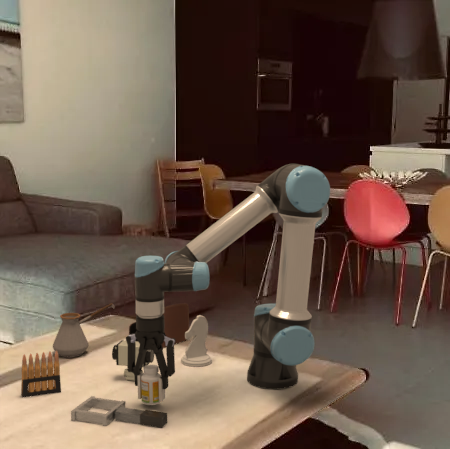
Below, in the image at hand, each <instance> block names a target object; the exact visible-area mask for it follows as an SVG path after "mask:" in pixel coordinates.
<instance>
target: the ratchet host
mask: <svg viewBox="0 0 450 449" xmlns="http://www.w3.org/2000/svg"><path fill="white" fill-rule="evenodd" d="M92 408H94V409H100V410H107V411H108V412H105V413H103V412H97V411H90V410H91V409H92ZM70 421H74V422H76V421H77V422H85V423H89V424H90V423H91V424H97V425H102V426H104V427H107V426H109V424H111V423H112V422H113V421H117V422H122V423H129V424H135V425H141V426H146V427H147V426H148V427H154V428H160V429H162V428H163V427H165V425H167V424H168V412H166V411H164V412H163V411H157V410H152V409H151V410H150V409H145V410H144V409H137V408H136V409H135V408H130V407H126V400H116V399H110V398H109V399H108V398H101V397H96V396H95V395H94V396H93V395H91V396H89V397H88V398H87V399H86V400H84V401H83V402H81V403H80V404H79V405H78V406H76V407H75V408H73V409H72V410H70Z"/></svg>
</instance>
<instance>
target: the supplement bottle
mask: <svg viewBox="0 0 450 449" xmlns="http://www.w3.org/2000/svg"><path fill="white" fill-rule="evenodd" d="M143 373H144V374H143V375H142V376H141V392H142V399H141V402H142V404H144V405H147V406H153V405H158V404H161V402H159V377H161V374H160V370H159V367H158V364H148V365H146V366H144V367H143Z"/></svg>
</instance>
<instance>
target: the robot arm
mask: <svg viewBox="0 0 450 449" xmlns="http://www.w3.org/2000/svg"><path fill="white" fill-rule="evenodd" d="M330 196H331V185H330V182H329V180H328V178H327V177H326V175H325V174H324V172H322V171H321V170H319V169H318V168H315V167H313V166H309V165H304V164H299V163H289V164H285V165H283V166H281V167H279V168H278V169H276V170H275V171H274V172H273V173H271V174H270V175H269V176H267V177H266V178H265V179H264V180H262V181H261V182H260V183H259V184H258V185H256V187H255V191H254V192H253V193H252V194H250V195H249V196H248V197H247V198H245V199H244V200H243V201H241V202H240V203H239V204H237V205H236V206H234V208H231V210H230V211H229V212H227V213H226V214H225V215H223V216H222V217H221V218H220V219H218V220H216V222H214V223H213V224H211V225H210V226H209V227H208V228H207V229H205V230H204V231H203V232H201V233H199V234H198V235H197V236H196V237H195V238H193V239H192V240H191V241H189V243H187V244H186V245H185V246H183V247H182V248H180V249H179V250H175V251H172V252H170V253H169V254H168V255H166V257H165V259H164V258H163V257H162V256H160V255H143V256H142V255H141V256H139V257H137V258H136V260H135V263H134V290H135V292H134V293H135V314H136V316H135V322H136V329H137V331H136V333H135V334H130V335H129V334H128V335H127V336H125V341H127V345H128V366H126V367H127V368H126V369H127V370H128V372H132V373H134V376H135V381H134V385H135V387H137V400H142V392H141V376H142V375H143V374H144V372H143V373H141V371H143V368H144V367H143V363H144V359H145V355H146V351H147V349H151V350H153V352H154V354H155V355H154V357H155V359H156V364H157V366H158V367H159V374H160V375H161V377H159V402H160V403H162V402H164V400H166V390H167V389H168V387H169V377H172V376H173V375H174V374H175V373H176V363H175V360H176V359H175V345H176V344H175V342H176V339H175V338H172V339H171V338H168V337H166V334H165V332H164V328H165V322H164V315H163V313H164V307H165V293H170V292H171V293H175V292H177V293H178V292H197V291H204V290H207V289H209V286H210V278H211V276H210V269H209V265H208V262H210V261H211V260H212V259H213V258H215V257H216V256H217V255H218V254H220V253H222V251H224V250H226V249H227V248H228V247H229V246H230V245H232V244H233V243H234V242H235V241H237V240H238V239H239V238H241V237H242V236H244V235H245V234H246V233H247V232H248V231H250V230H251V229H252V228H254V227H255V226H256V225H257V224H259V223H261V222H262V221H263V220H264V219H265V218H267V217H268V216H269V215H271V214H273V213H274V214H277V213H278V215H279V217H280V218H281V219H282V220H283V226H282V237H281V244H280V245H281V246H280V256H279V257H280V258H279V267H278V268H279V269H278V278H277V279H278V280H277V287H276V288H277V289H276V300H275V303H263V304H258V305H256V307H255V308H254V312H253V353H252V354H253V355H252V357H251V361H250V363H249V367H248V369H247V372H246V380H247V382H248V384H250V385H252V386H254V387H257V388H261V389H267V390H279V389H280V390H281V389H288V388H291V387H294V386H296V385H297V384H298V383H299V372H298V369H297V366H298V365H300V364H303V363H304V362H306V361H307V360H308V359H309V358H310V357H311V356H312V354H313V352H314V350H315V345H316V344H315V337H314V335H313V333H312V331H311V327H312V319H313V318H312V317H313V316H312V314H311V313H310V311H309V310H308V299H309V291H310V282H311V281H310V280H311V273H312V272H311V271H312V261H313V259H312V258H313V252H314V251H313V250H314V243H315V242H314V241H315V231H316V224H317V223H318V222H319V221H320V220H321V219H322V218H323V217H322V216H323V209H324V207H325V206H326V205H327V204H328V202H329V199H330ZM136 339H137V341H138V342H139V344H140V347H139V353H138V357H137V361H136V365H135V352H136V343H135V342H136ZM164 341H165V345H166V346H167V347H166V348H165V351H166V358H165V355H164V350H163V349H164V348H163V347H162V343H163V342H164Z"/></svg>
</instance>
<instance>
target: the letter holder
mask: <svg viewBox="0 0 450 449" xmlns="http://www.w3.org/2000/svg"><path fill="white" fill-rule="evenodd" d="M189 314H190V308H189V304H188V303H185V302H183V303H174V304H170V305H167V306H164V313H163V315H164V322H165V328H164V332H165V334H166V337H168V338H171V339H172V338H175V339H176V342H175V345H177V344H176V343H178V344H180V343H179V342H181V343H183V342H182V341H184V342H186V341H185V340H187V339H185V332H187V331H188V330H189V328H190V315H189ZM136 331H137V329H136V321H134V322H132V323H131V324H129V327H128V335H130V334H135V333H136ZM136 341H137V339H136ZM187 341H188V340H187ZM137 342H138V341H137ZM162 347H163V349H166V348H167V346H166V345H165V341H164V342H163V343H162Z"/></svg>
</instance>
